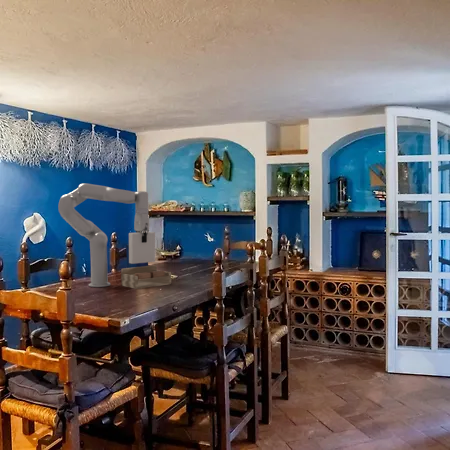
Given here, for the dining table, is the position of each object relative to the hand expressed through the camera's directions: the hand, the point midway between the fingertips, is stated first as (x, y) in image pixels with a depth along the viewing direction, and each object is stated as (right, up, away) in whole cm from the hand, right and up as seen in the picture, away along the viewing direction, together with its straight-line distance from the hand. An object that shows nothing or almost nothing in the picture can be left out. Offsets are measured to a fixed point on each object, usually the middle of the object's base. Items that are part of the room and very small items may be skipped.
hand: (142, 241), depth 298 cm
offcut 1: (+2, -26, -8) cm, 27 cm away
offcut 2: (+9, -26, -1) cm, 27 cm away
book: (-5, -25, +15) cm, 30 cm away
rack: (+3, -26, -1) cm, 26 cm away
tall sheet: (0, -12, +1) cm, 12 cm away
